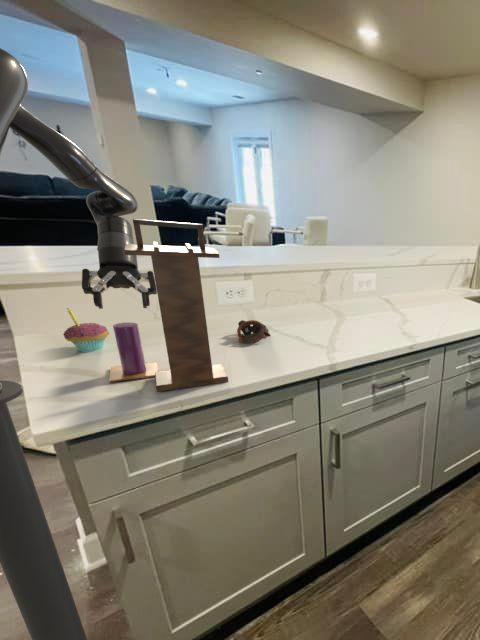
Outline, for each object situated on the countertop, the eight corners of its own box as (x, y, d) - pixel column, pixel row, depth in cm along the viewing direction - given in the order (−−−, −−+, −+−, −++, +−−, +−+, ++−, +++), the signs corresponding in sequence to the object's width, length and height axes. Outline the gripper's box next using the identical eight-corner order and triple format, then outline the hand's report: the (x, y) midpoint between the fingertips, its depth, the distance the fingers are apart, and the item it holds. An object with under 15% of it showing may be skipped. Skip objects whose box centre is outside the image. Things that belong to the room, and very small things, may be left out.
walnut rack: (151, 392, 88) (118, 220, 75) (150, 377, 94) (120, 216, 81) (232, 381, 98) (216, 227, 85) (227, 368, 104) (211, 223, 91)
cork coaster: (109, 382, 90) (108, 380, 90) (111, 368, 96) (110, 366, 96) (158, 376, 96) (158, 374, 95) (157, 363, 102) (157, 362, 102)
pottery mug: (280, 341, 128) (272, 325, 121) (256, 360, 123) (247, 344, 116) (254, 324, 130) (245, 308, 124) (230, 342, 125) (219, 326, 118)
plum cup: (113, 323, 92) (112, 328, 88) (137, 321, 94) (137, 326, 91) (123, 369, 96) (122, 375, 93) (146, 366, 98) (146, 373, 95)
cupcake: (73, 357, 99) (58, 313, 95) (65, 347, 104) (51, 304, 99) (116, 349, 106) (104, 308, 101) (108, 340, 110) (96, 300, 106)
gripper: (153, 263, 110) (159, 313, 106) (83, 259, 101) (87, 314, 97) (151, 247, 105) (157, 300, 101) (76, 242, 96) (80, 300, 92)
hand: (123, 307), depth 99 cm, fingers open, 8 cm apart
